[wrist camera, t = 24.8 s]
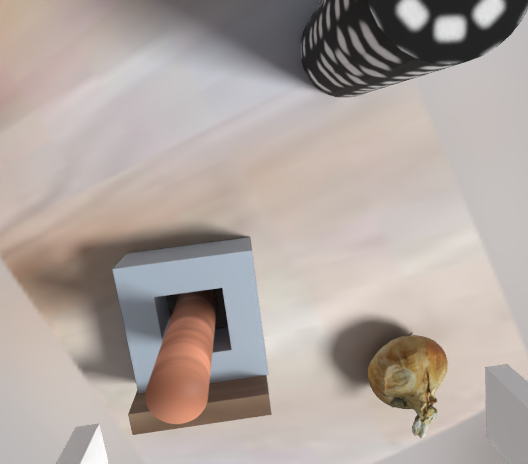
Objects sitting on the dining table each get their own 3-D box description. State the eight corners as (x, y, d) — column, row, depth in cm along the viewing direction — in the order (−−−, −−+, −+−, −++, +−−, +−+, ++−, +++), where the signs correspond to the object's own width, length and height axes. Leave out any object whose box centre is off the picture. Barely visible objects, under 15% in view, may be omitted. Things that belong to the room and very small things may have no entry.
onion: (448, 352, 47) (490, 396, 39) (393, 402, 48) (424, 454, 40) (401, 307, 45) (435, 343, 38) (345, 360, 46) (368, 405, 39)
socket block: (126, 253, 42) (112, 269, 38) (250, 237, 43) (251, 250, 38) (149, 365, 45) (138, 393, 40) (265, 349, 45) (268, 374, 41)
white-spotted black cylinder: (391, 95, 41) (533, 61, 21) (301, 99, 40) (362, 68, 21) (392, -3, 39) (549, -140, 19) (298, 0, 38) (362, -136, 19)
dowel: (173, 287, 43) (139, 373, 28) (213, 281, 44) (202, 364, 28) (180, 324, 44) (151, 428, 29) (219, 319, 44) (212, 419, 29)
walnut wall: (147, 365, 45) (128, 414, 37) (263, 349, 45) (268, 394, 38) (150, 383, 46) (132, 434, 38) (265, 366, 46) (271, 414, 38)
